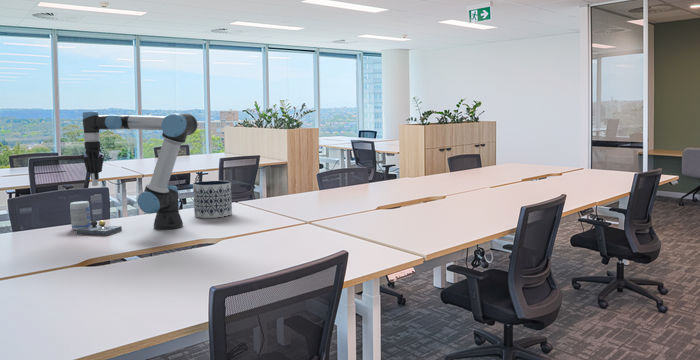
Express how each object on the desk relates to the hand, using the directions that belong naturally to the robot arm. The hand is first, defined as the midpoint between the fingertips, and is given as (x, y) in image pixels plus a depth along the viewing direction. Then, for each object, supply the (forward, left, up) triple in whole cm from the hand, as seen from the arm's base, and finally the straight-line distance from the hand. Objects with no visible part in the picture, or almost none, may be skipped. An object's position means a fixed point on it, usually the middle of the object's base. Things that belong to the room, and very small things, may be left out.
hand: (95, 185), depth 282 cm
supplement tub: (+13, -3, -25) cm, 28 cm away
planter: (-39, -53, -25) cm, 70 cm away
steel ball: (-7, +6, -23) cm, 25 cm away
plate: (-4, +4, -24) cm, 25 cm away
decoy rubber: (+2, 0, -20) cm, 20 cm away
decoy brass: (-3, 0, -20) cm, 21 cm away
